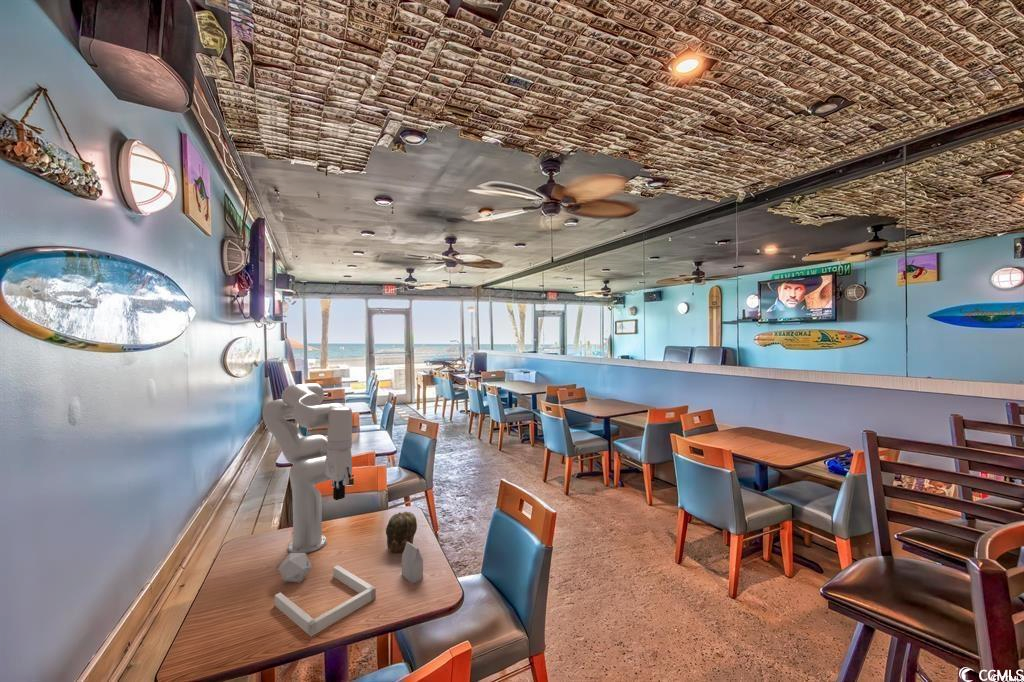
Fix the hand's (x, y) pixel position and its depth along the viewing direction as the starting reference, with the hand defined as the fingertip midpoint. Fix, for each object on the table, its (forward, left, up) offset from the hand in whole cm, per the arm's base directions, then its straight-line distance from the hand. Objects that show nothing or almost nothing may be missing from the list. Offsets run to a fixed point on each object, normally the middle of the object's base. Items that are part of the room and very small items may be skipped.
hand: (339, 498), depth 135 cm
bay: (+14, -13, -23) cm, 30 cm away
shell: (+7, +20, -23) cm, 31 cm away
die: (-4, -12, -23) cm, 26 cm away
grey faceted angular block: (+25, +10, -23) cm, 35 cm away
